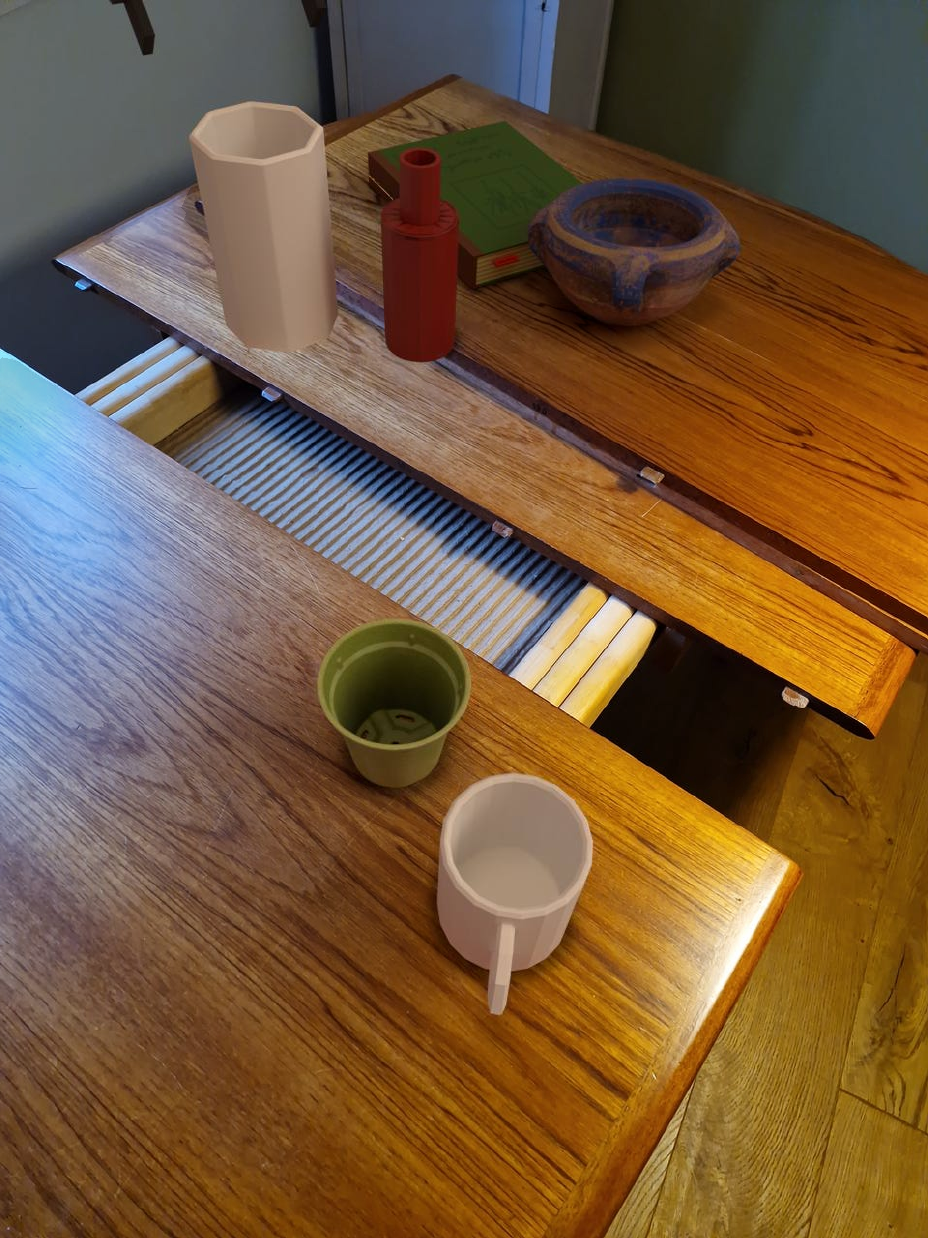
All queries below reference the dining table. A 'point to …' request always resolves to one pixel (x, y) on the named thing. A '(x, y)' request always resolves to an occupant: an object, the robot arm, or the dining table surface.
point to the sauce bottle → (419, 262)
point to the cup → (268, 223)
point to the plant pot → (394, 696)
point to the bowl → (632, 247)
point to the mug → (510, 874)
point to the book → (485, 195)
